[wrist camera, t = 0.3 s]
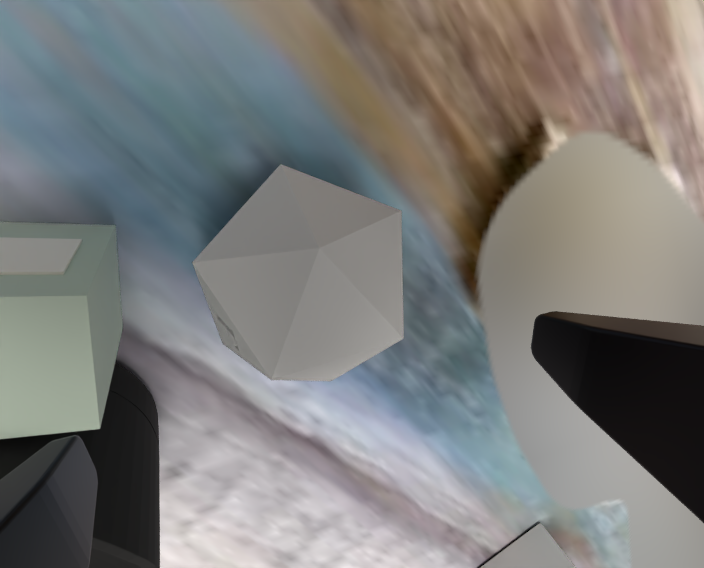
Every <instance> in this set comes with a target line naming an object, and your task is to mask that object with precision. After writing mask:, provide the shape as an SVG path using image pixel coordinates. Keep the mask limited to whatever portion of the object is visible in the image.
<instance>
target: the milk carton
mask: <svg viewBox="0 0 704 568" xmlns="http://www.w3.org/2000/svg"><path fill="white" fill-rule="evenodd" d="M480 568H576V567H575V566H574V564H573V563H572V562H571V561H570V559H569V558H568V557H567V555H566V554H565V553H564V552H563V550H562V549H561V548H560V546H559V545H558V544H557V543H556V541H555V540H554V539H553V538H552V536H551V535H550V534H549V532H548V531H547V530H546V529H545V527H544V526H543V525H542V524H541V523H539V524H538V525H536V526H535V527H534V528H532V529H531V530H530V531H528V532H527V533H526V534H524V535H523V536H522V537H520V538H519V539H518V540H516V541H515V542H514V543H512V544H511V545H510V546H508V547H507V548H506V549H504V550H503V551H502V552H500V553H499V554H498V555H496V556H495V557H494V558H492V559H491V560H490V561H488V562H487V563H486V564H484V565H483V566H482V567H480Z"/></svg>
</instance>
